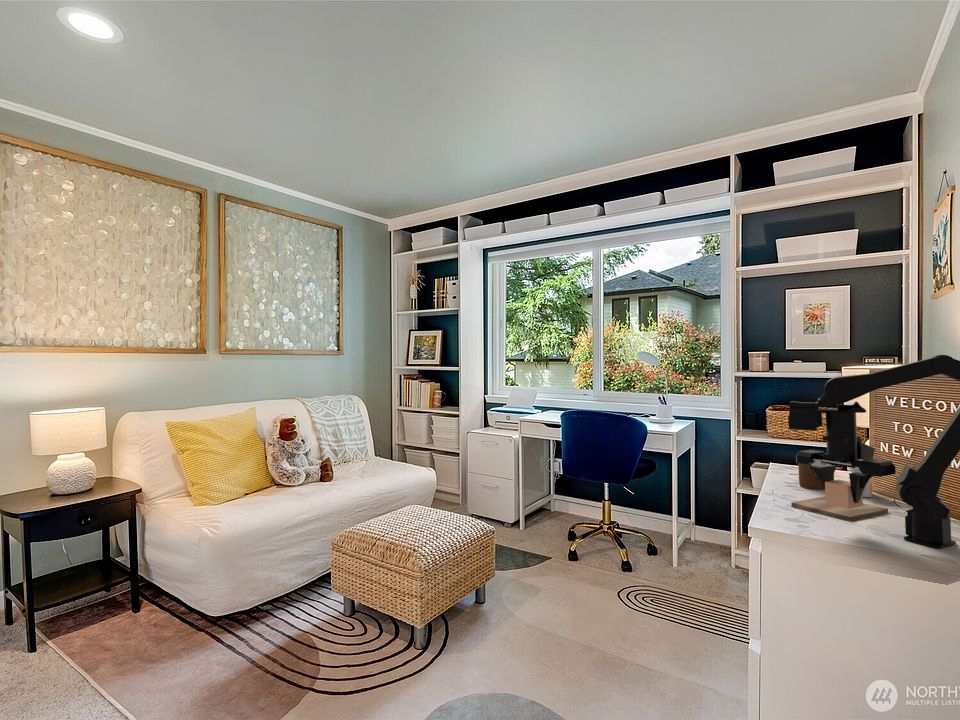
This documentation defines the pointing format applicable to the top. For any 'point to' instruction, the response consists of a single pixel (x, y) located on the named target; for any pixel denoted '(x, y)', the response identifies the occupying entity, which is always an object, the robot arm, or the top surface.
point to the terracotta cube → (840, 494)
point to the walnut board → (839, 509)
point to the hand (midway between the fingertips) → (843, 499)
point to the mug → (809, 477)
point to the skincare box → (868, 487)
